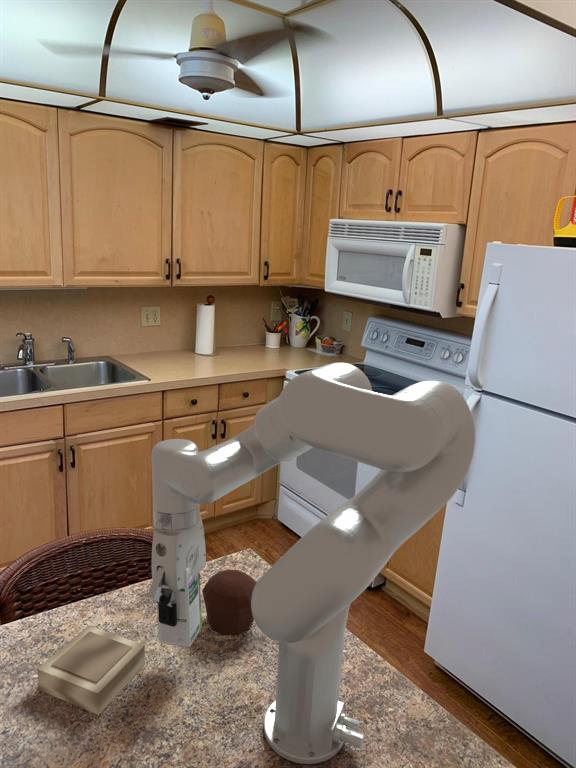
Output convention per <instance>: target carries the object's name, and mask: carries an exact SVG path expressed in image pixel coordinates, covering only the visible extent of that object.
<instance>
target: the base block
mask: <svg viewBox="0 0 576 768" xmlns="http://www.w3.org/2000/svg"><path fill="white" fill-rule="evenodd" d="M145 649H146V646H145V644H143V643H140V642H137V641H134V640H131V639H129V638H127V637H123V636H120V635H118V634H114V633H111V632H110V631H106V630H104V629H100V628H98V627H95V626H92V625H90V624H89V625H87V626H86V627H84V628H83V630H81V631H80V632H79V633H78V634H76V635H75V636H74V637H73V638H72V639H71V640H70V641H68V642H67V643H66V644H65V645H64V646H62V647H61V648H60V649H59V650H58V651H56V652H55V653H54V654H53V655H52V656H51V657H49V658H48V659H47V660H46V661H45V662H44V663H42V664H41V665H40V666H39V667H38V668H37V684H38V685H37V687H38V691H40V692H42V693H45V694H47V695H50V696H53V697H55V698H57V699H60V700H62V701H64V702H67V703H69V704H72V705H74V706H75V707H79V708H80V709H81V708H82V709H83V710H86V711H88V712H90V713H92V714H95V715H97V716H99V715H100V714H101V713H102V712H103V711H104V710H105V709H106V708H107V707H108V705H109V704H110V703H111V702H112V701H113V700H114V699H115V698H116V697H117V696H118V695H119V694H120V693H121V691H122V690H124V688H126V686H127V685H128V684H129V683H130V681H131V680H133V678H134V677H135V676H136V675H138V673H139V672H140V671H141V670H142V669H143V667H144V666H145V665H146V657H145V656H146V650H145Z"/></svg>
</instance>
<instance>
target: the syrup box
mask: <svg viewBox="0 0 576 768" xmlns="http://www.w3.org/2000/svg"><path fill="white" fill-rule="evenodd" d="M190 569H192V568H187V569H186V570H185V586H184V587H183V588H182V589H181V590H179V591H177V592H176V594H175V599H174V603H175V604H176V605H177V625H176V626H175V627H173V626H169V625H166V624H162V623H160V622H159V614H158V603H156V609H157V610H156V613H157V633H158V642H159V643H160V644H164V645H169V646H177V647H183V648H191V646H192V644H193V643H194V641H195V639H196V638H197V636H198V634H199V633H200V631H201V628H202V627H203V625H202V601H201V597H202V596H201V571H200V572H199V573H198V574H197V575H196V576H195V577H194V578H192V576H191V573H190ZM164 584H167V582H166V580H165V581H164ZM169 592H170V590H168V589H164V594H163V595H165V596H167V597H169Z"/></svg>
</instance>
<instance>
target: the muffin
mask: <svg viewBox="0 0 576 768" xmlns="http://www.w3.org/2000/svg"><path fill="white" fill-rule="evenodd" d="M256 583H257V581H256V580H254V578H253V577H252V576H251V575H249V574H248V573H246V572H245V571H241V570H238V569H225V570H220V571H218V572H217V573H215V574H213V575H212V576H211V577H210V578H209V579H208V580H207V582H206V583H205V585H204V587H203V588H202V591H201V592H202V597H203V600H204V604H205V611H206V612H205V613H206V618H207V619H206V620H207V623H208V624H209V626H210V629H211V631H212V632H215V633H217V634H219V635H221V636H222V637H225V636H226V637H228V636H231V637H232V636H233V637H239V636H240V635H242V634H243V633H246V632H249V631H250V630H251V626H252V625H253V623H254V622H255V621H254V618H253V615H252V610H251V597H252V592H253V589H254V587H255V585H256Z"/></svg>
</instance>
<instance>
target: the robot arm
mask: <svg viewBox="0 0 576 768" xmlns="http://www.w3.org/2000/svg"><path fill="white" fill-rule="evenodd" d="M469 406H470V405H468V402H467V401H466V399H465V397H464V396H463V395H462V394H461V392H460V391H459V390H458V389H456V388H455V387H454V386H452V385H451V384H449V383H446V382H444V381H441V380H439V381H438V380H424V381H420V382H417V383H414V384H410V385H409V386H407V387H405V388H403V389H401V390H399V391H398V392H396V393H394V394H392V395H389V394H384V393H380V392H379V393H378V392H375V391H373V389H372V385H371V382H370V380H369V378H368V376H367V375H366V374H365V373H364V371H362V370H361V369H360V368H359V367H357V366H355V365H353V364H350V363H347V362H332V363H328V364H325V365H322V366H319V367H316V368H314V369H311V370H308V371H305V372H302V373H299V374H298V375H296V376H294V377H293V378H292V379H290V380H289V381H288V382H287V384H285V385H284V387H283V389H282V391H281V392H280V394H279V396H278V397H276V398H274V399H272V400H271V401H269V402H267V404H265V405H263V406H262V407H261V408H259V410H258V411H257V412H256V414H255V416H254V420H253V421H254V422H253V424H252V425H250V426H249V427H248V428H246V429H245V430H243V431H242V432H240V433H238V434H237V435H235V436H233V437H231V438H230V439H228V440H226V441H224V442H221V443H219V444H216V445H214V446H213V447H210V448H208V449H205V450H202V451H199V447H198V446H197V444H196V443H195V442H193V441H191V440H189V439H184V438H171V439H165V440H162V441H159V442H157V443H156V444H155V445H154V446H153V448H152V450H151V454H150V455H151V457H150V458H151V459H150V460H151V461H150V462H151V480H152V481H151V483H152V484H151V486H152V509H153V511H152V513H153V515H152V516H153V518H152V519H153V527H154V529H153V536H152V546H151V578H152V583H151V586H150V587H149V590H148V593H147V597H148V598H149V599H151V600H152V601H153V602H155V603H156V604H157V603H158V614H159V622H160V623H162V624H166V625H169V626H173V627H175V626H176V625H177V605H176V604H175V603H174V599H175V594H176V592H177V591H179V590H181V589H182V588H183V587H184V586H185V570H186V569H187V568H192V569H190V573H191V576H192V578H194V577H195V576H196V575H197V574H198V573H199V572H200V573H201V571H202V570H203V569H204V567H205V566H206V563H207V561H206V560H207V559H206V558H207V556H206V555H207V554H206V553H207V551H206V540H205V530H204V524H203V519H202V516H201V505H209V504H211V503H213V502H215V501H217V500H219V499H221V498H222V497H224V496H226V495H228V494H229V493H231V492H233V491H235V490H236V489H237V488H239V487H241V486H244V485H245V484H247V483H248V482H251V481H252V480H254V479H255V478H257V477H259V476H260V475H261V474H264V473H265V472H267V471H269V470H271V469H272V468H274V467H276V466H277V465H279V464H281V463H282V462H285V463H286V462H287V463H288V462H290V461H292V460H294V459H296V458H297V457H299V456H301V455H303V454H304V453H306V452H308V451H309V450H311V449H313V448H316V449H317V450H320V451H323V452H326V453H329V454H333V455H335V456H336V455H337V456H339V457H342V458H345V459H349V460H352V461H355V462H358V463H360V464H361V463H362V464H364V465H367V466H371V467H373V468H376V469H380V471H379V472H377V474H376V475H375V476H374V477H373V478H372V479H371V480H370V481H369V482H368V483H367V484H366V485H365V486H364V487H363V488H362V489H360V490H359V491H358V492H357V493H356V494H355V495H353V497H351V498H350V499H349V500H347V501H345V502H344V503H343V504H341V505H339V506H337V508H335V509H334V510H332V511H331V512H330V513H328V514H327V515H326V516H325V517H323V518H322V519H321V520H320V521H319V522H318V523H316V524H315V525H314V526H313V527H312V528H311V529H309V530H308V531H307V532H306V533H305V534H304V535H303V536H302V537H300V539H299V540H298V541H296V542H295V543H294V544H293V545H292V546H291V547H290V548H289V549H288V550H287V551H286V552H285V553H284V554H283V555H282V556H281V557H280V558H279V559H278V560H277V561H276V562H274V564H273V565H271V567H270V568H269V569H267V570H266V571H265V573H263V574H262V575H261V576H260V577H259V579H258V580H257V581H256V585H255V587H254V589H253V592H252V597H251V610H252V615H253V618H254V622H255V624H256V626H257V628H258V629H259V630H260V632H261V633H262V634H263V635H265V636H266V637H268V638H269V639H271V640H273V641H276V642H278V643H279V645H278V656H277V657H278V658H277V674H276V688H275V689H276V690H275V700H274V701H273V702H272V703H271V704H270V706H269V707H268V708H267V710H266V712H265V716H264V720H263V731H264V732H263V733H264V736H265V738H266V741H267V743H268V744H269V746H270V747H271V748H272V750H273V751H274V752H275V753H276V754H278V755H279V756H281V757H282V758H284V759H286V760H288V761H291V762H293V763H296V764H303V765H304V764H305V765H315V764H319V763H323V762H326V761H328V760H330V759H332V758H333V757H334V756H336V755H337V753H339V752H340V750H341V749H342V747H343V746H344V744H348V745H350V746H351V747H355V748H357V749H359V750H362V748H363V744H364V740H365V734H364V733H363V732H358V731H359V729H360V726H361V721H360V720H357V719H355V718H350V717H348V716H346V714H345V713H344V712H343V710H344V702H342V701H339V699H340V688H341V677H342V666H343V656H344V647H345V638H346V637H345V636H346V629H347V622H348V615H349V612H350V611H349V610H350V606H351V604H352V603H353V602H354V601H355V600H356V599H357V598H358V597H359V596H360V595H361V594H362V593H363V592H364V591H365V590H366V589H367V588H368V587H369V586H370V584H371V583H372V582H373V581H374V580H375V578H376V577H377V576H378V574H379V573H380V572H381V570H382V569H383V568H384V567H385V566H386V564H387V563H388V562H389V560H390V559H391V557H392V556H393V555H394V553H395V552H396V551H397V550H398V549H399V548H400V547H401V546H402V545H404V544H405V542H407V540H408V539H410V538H411V537H412V536H414V535H415V534H416V533H417V532H418V531H419V530H420V529H421V528H422V527H423V526H425V525H426V524H427V523H428V522H429V521H430V520H431V519H432V518H433V517H434V516H435V515H437V513H438V512H439V511H440V510H442V508H443V507H445V505H447V503H448V502H449V501H450V500H451V499H452V497H454V495H455V494H456V493H457V491H458V490H459V488H460V487H461V485H462V484H463V482H464V480H465V479H466V476H467V474H468V472H469V470H470V466H471V465H472V461H473V456H474V453H475V445H476V430H475V423H474V419H473V415H472V412H471V408H470V407H469ZM165 580H166V582H167V584H164V581H165ZM164 589H168V590H170V592H169V597H167V596H165V595H163V594H164Z"/></svg>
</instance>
